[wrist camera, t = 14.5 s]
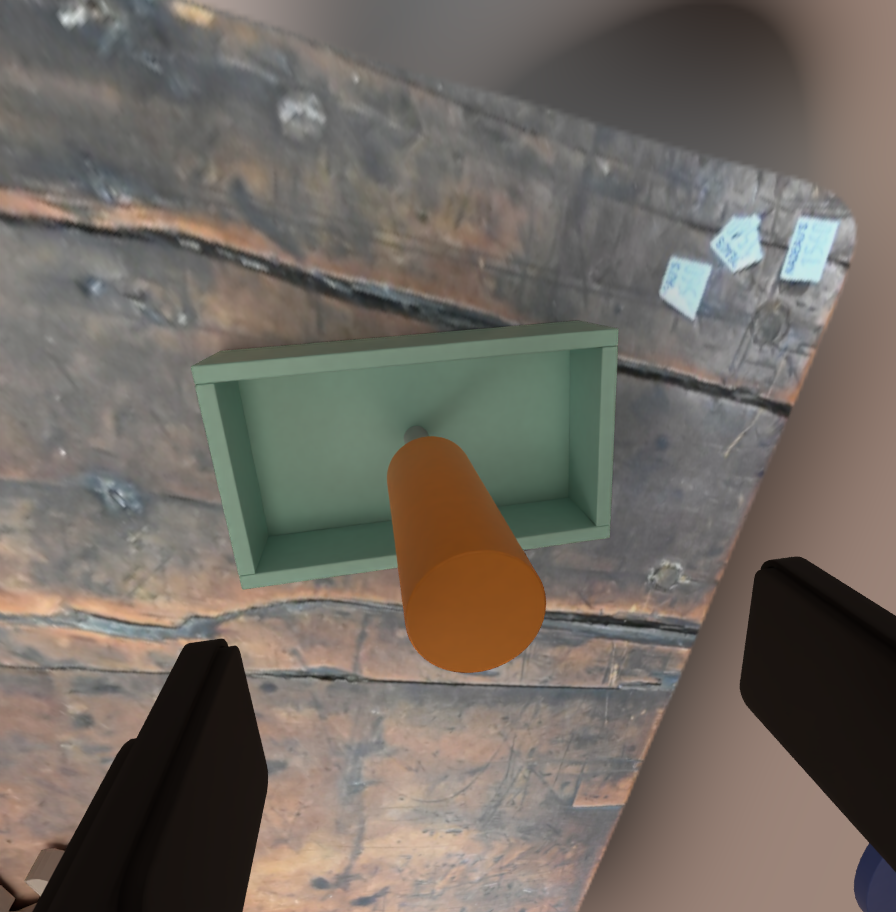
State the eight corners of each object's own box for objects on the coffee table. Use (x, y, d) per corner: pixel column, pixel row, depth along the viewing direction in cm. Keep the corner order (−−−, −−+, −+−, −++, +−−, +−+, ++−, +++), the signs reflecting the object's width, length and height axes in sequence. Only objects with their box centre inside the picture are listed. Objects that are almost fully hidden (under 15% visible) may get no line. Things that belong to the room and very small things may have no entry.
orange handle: (447, 400, 21) (546, 541, 10) (451, 465, 22) (547, 661, 11) (377, 407, 21) (398, 561, 9) (385, 473, 22) (412, 684, 10)
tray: (218, 350, 20) (189, 365, 16) (578, 320, 21) (619, 328, 18) (259, 543, 22) (241, 590, 19) (575, 501, 24) (610, 538, 21)
